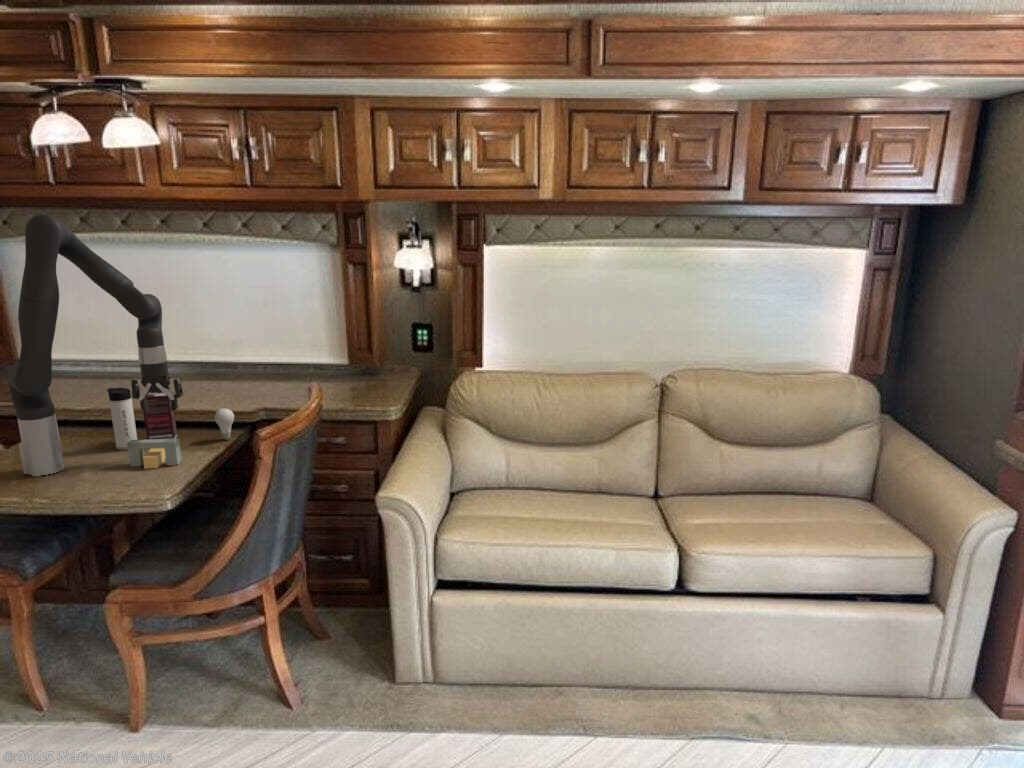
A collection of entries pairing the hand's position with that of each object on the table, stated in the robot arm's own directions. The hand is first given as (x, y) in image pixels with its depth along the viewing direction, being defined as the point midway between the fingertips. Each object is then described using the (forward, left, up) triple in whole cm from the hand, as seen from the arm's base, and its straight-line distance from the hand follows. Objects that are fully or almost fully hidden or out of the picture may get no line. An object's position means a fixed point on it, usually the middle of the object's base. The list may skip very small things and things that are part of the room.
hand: (160, 411), depth 211 cm
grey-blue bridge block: (0, -7, -15) cm, 17 cm away
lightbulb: (+14, +15, -15) cm, 25 cm away
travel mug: (-16, +9, -15) cm, 24 cm away
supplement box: (-8, +17, -15) cm, 24 cm away
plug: (-1, -5, -15) cm, 16 cm away
